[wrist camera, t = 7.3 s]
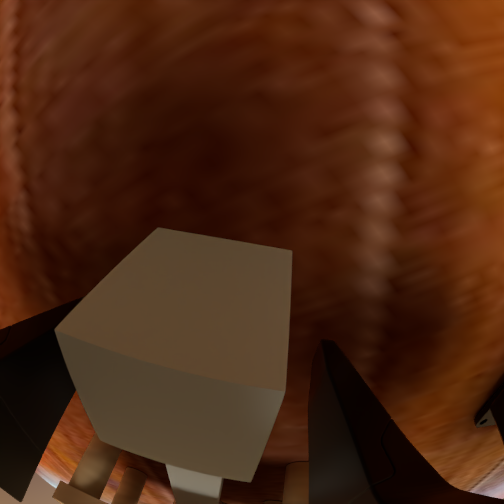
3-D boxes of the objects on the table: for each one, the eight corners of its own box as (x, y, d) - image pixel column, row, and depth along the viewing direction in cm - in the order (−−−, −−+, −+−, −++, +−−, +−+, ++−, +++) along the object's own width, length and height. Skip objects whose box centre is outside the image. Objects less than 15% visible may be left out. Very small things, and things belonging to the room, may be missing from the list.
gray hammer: (292, 250, 9) (285, 391, 4) (231, 493, 17) (220, 548, 13) (157, 227, 9) (54, 329, 4) (179, 481, 18) (162, 535, 13)
